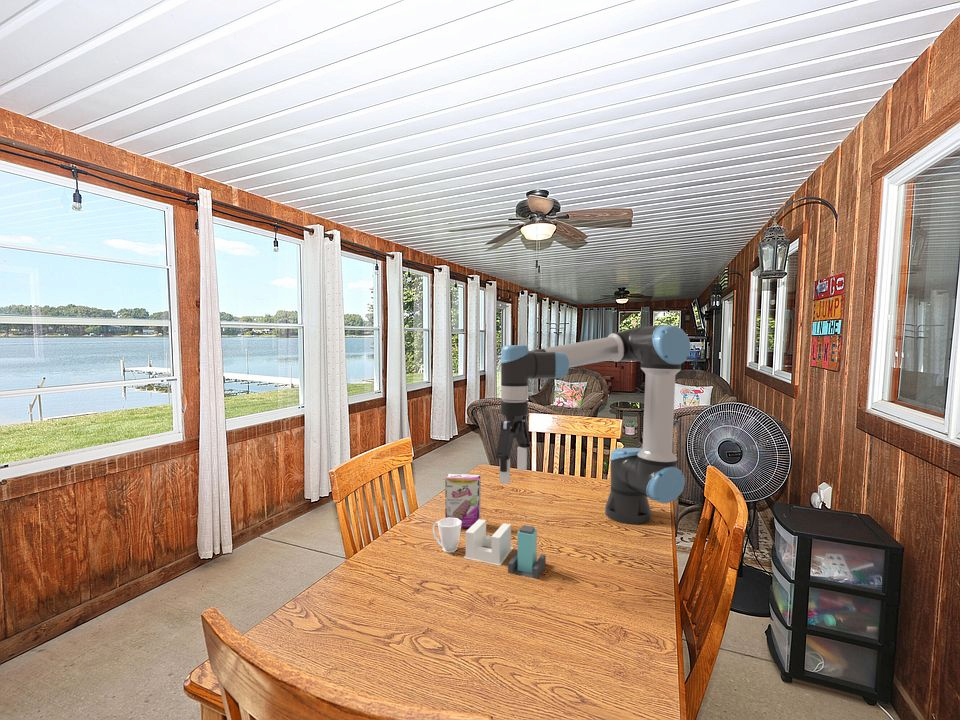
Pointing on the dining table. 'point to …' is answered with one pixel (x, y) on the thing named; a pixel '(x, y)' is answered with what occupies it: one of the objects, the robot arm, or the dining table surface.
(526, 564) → the plug
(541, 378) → the robot arm
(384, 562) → the dining table surface
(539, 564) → the holster
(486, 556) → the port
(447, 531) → the cup
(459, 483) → the candy bar box
